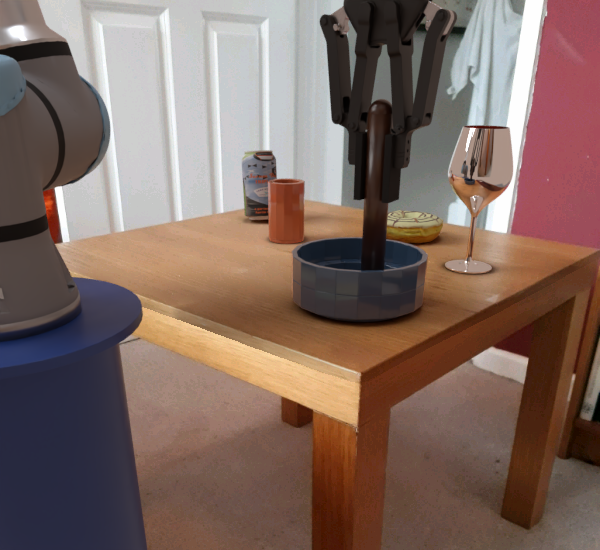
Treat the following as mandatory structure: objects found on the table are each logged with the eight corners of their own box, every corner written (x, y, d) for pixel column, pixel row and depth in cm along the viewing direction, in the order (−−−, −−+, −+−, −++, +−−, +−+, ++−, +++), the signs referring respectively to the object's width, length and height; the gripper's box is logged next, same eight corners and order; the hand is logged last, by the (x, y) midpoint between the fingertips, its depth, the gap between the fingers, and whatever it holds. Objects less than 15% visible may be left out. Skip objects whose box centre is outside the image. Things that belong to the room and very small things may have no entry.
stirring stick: (356, 282, 71) (364, 98, 62) (366, 277, 73) (375, 98, 64) (377, 286, 70) (388, 99, 61) (387, 280, 71) (399, 98, 63)
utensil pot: (262, 240, 101) (260, 182, 97) (281, 233, 105) (281, 177, 101) (291, 245, 99) (291, 185, 94) (310, 238, 103) (311, 180, 99)
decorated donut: (428, 229, 109) (431, 207, 107) (450, 244, 100) (453, 220, 98) (369, 230, 108) (371, 208, 106) (385, 246, 98) (387, 221, 97)
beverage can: (251, 225, 111) (249, 152, 105) (237, 217, 117) (235, 148, 111) (284, 222, 113) (284, 150, 108) (269, 214, 119) (268, 146, 114)
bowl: (266, 310, 72) (265, 258, 69) (331, 277, 84) (333, 231, 81) (388, 336, 65) (393, 280, 62) (441, 297, 76) (447, 247, 74)
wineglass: (467, 279, 83) (487, 130, 75) (425, 264, 89) (439, 125, 81) (510, 270, 87) (534, 128, 79) (467, 256, 93) (484, 123, 85)
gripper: (490, -77, 55) (459, 201, 66) (334, -60, 63) (329, 188, 73) (462, -94, 50) (432, 213, 60) (293, -73, 57) (294, 197, 68)
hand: (376, 199), depth 67 cm, fingers closed on stirring stick, 3 cm apart
